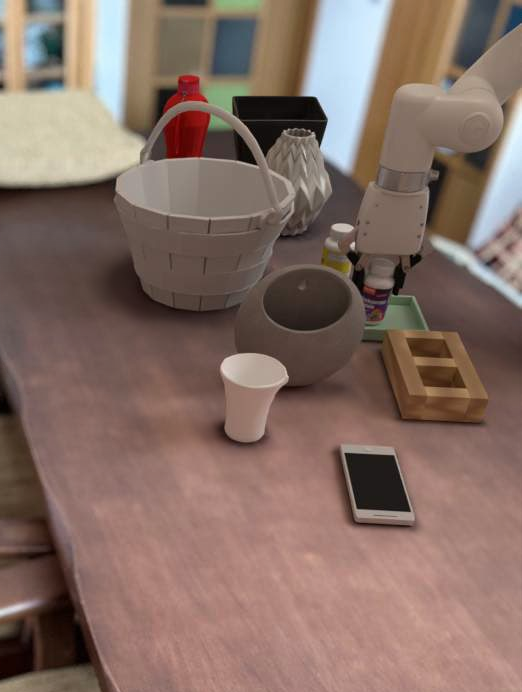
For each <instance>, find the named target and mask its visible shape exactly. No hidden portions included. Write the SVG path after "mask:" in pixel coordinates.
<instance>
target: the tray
mask: <svg viewBox="0 0 522 692" xmlns="http://www.w3.org/2000/svg"><path fill="white" fill-rule="evenodd" d="M386 329H397V330H418V331H430V329H429V327H428V324H427V322H426V319H425V317H424V315H423V313H422V310H421V308H420V306H419V303H418V300H417V299H416V296H415V295H405V294H404V295H403V294H398V296H394V295H393V294H391V297H390V300H389V304H388V307H387V310H386V313H385V317H384V319H383V321H382V323H380V324H377V325H367V324H365V329H364V333H363V337H362V340H361V341H377V342H379V341H380V342H383V340H384V336H385V332H386Z"/></svg>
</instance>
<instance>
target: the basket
mask: <svg viewBox="0 0 522 692" xmlns="http://www.w3.org/2000/svg"><path fill="white" fill-rule="evenodd" d="M188 110H192V111H202V112H206V113H209V114H211V116H213V117H216V118H218V119H220V120H222V121H223V122H224V123H226V124H227V125H229V126H230V127H231V128H232V129H233V128H234V129H235V130H236V131H237V132H238V133H239V135H240V136H241V137H242V138H243V139H244V141H245V142H246V144H247V145H248V147H249V148H250V150H251V151H252V153H253V156H254V158H255V160H256V162H257V164H258V166H256V165H252V164H248V163H244V162H240V161H237V160H235V159H225V158H214V157H213V158H212V157H203V156H202V157H200V159H199V158H198V157H195V158H177V159H166V158H163V159H159V160H154V159H147V154H148V153H150V152H151V150H152V148H153V146H154V145H155V143H156V141H157V139H158V137H159V135H160V134H161V133H162V131H163V128H164V126H165V125H166V124H167V123H168V122H169V121H170V120H171V119H172V118H173V117H175V116H176V115H178V114H179V113H182V112H185V111H188ZM295 196H296V193H295V191H294V188H293V186H292V183H291V181H290V180H288V179H286V178H284V177H283V176H281V175H279V174H277V173H275V172H274V171H272V170H270V169H268V166H267V163H266V160H265V157H264V155H263V153H262V151H261V149H260V147H259V145H258V143H257V141H256V139H255V138H254V136H253V135H252V134H251V132H250V131H249V129H248V128H247V127H246V126H245V125H244V124H243V123H242V122H241V121H240V120H239V119H238V118H237V117H236V116H234V115H233V114H232V113H231V112H229V111H228V110H226V109H224V108H222V107H220V106H217V105H215V104H214V103H213V104H212V103H210V102H209V103H205V102H201V101H187V102H182V103H179V104H177V105H175V106H174V107H172V108H170V109H169V110H168V111H167V112H166V113H165V114H164V115H163V114H162V116H161V117H160V118H159V120H158V121H157V123H156V125H155V127H154V128H153V129H152V131H151V134H150V135H149V137H148V139H147V141H146V142H145V144H144V147H142V148H141V149H140V152H139V164H137V165H134V166H133V167H131V168H129V169H127V170H126V171H125V172H123V173H121V174H120V175H118V176H117V177H116V183H115V196H114V198H113V202H114V204H115V207H116V210H117V212H118V215H119V217H120V219H121V223H122V224H121V225H122V227H123V230H124V232H125V234H126V235H127V237H128V241H129V248H130V252H131V257H132V261H133V268H134V271H135V273H136V275H137V276H138V277H139V281H140V283H141V287H142V288H141V289H142V290H143V292H144V293H146V294H147V295H148V297H150V298H151V299H152V300H153V301H155V302H158V303H159V304H163V305H164V306H168V307H171V308H173V309H174V308H175V309H180V310H188V311H195V312H205V311H217V310H224V309H225V310H226V309H229V308H231V307H234V306H236V305H237V306H238V305H240V304H241V303H242V302H243V300H244V298H245V297H246V295H247V294H248V293H249V291H250V290H251V289H252V288H253V287H254V286H255V285H256V284H257V283H258V282H259V281H260V280H261V279H262V278H263V276H264V273H265V271H266V268H267V266H268V264H269V262H270V260H271V257H272V256H273V247H274V244H275V242H276V240H277V239H278V238H279V237H280V236H281V234H280V233H281V231H282V230H283V228H284V226H285V225H286V223H287V222H288V220H289V219H290V217H291V216H292V214H293V213H294V198H295Z"/></svg>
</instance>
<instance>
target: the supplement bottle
mask: <svg viewBox="0 0 522 692" xmlns="http://www.w3.org/2000/svg"><path fill="white" fill-rule="evenodd" d="M354 228H355V226H353V225H351V224H348V223H334V224H332V225H331V227H330V231H329V235H330V236H328V237H327V238H326V239H325V240H324V244H323V249H322V255H321V261H320V265H322V266H326V267H330V268H333V269H335V270H337V271H339V272H341V273H343V274H344V275H346V276H347V277H348V278H349V279H350V274H351V269H352V265H353V264H352V263H351V262H350V261H349V259H348V258H347V257H346V255H344V254H343V252H342V251H341V250H340V249H339V247H338V242H339V241H340V240H341V239H343V238H344V237H345V236H346V235H347V234H348V233H349V232H350V231H352V230H353V229H354ZM350 248H351V249H353V250H354V251H355V250H356V242H355V241H354V242H353V243H352V244H351V245H350Z"/></svg>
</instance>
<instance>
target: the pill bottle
mask: <svg viewBox="0 0 522 692" xmlns="http://www.w3.org/2000/svg"><path fill="white" fill-rule="evenodd" d="M369 261H370V262H369V265H368V269H367V271H365V275H364V280H363V284H362V289H361V293H360V294H361V297H362V299H363V303H364V307H365V316H366V319H365V324H367V325H377V324H380V323H382V321H383V319H384V317H385V313H386V310H387V307H388V304H389V300H390V297H391V295H393V294H392V291H393V287H394V284H395V280H394V278H393V274H394V270H395V267H396V263H394V261H393V260H390V259H386V258H382V257H375V258H372V259H370V260H369Z"/></svg>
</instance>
